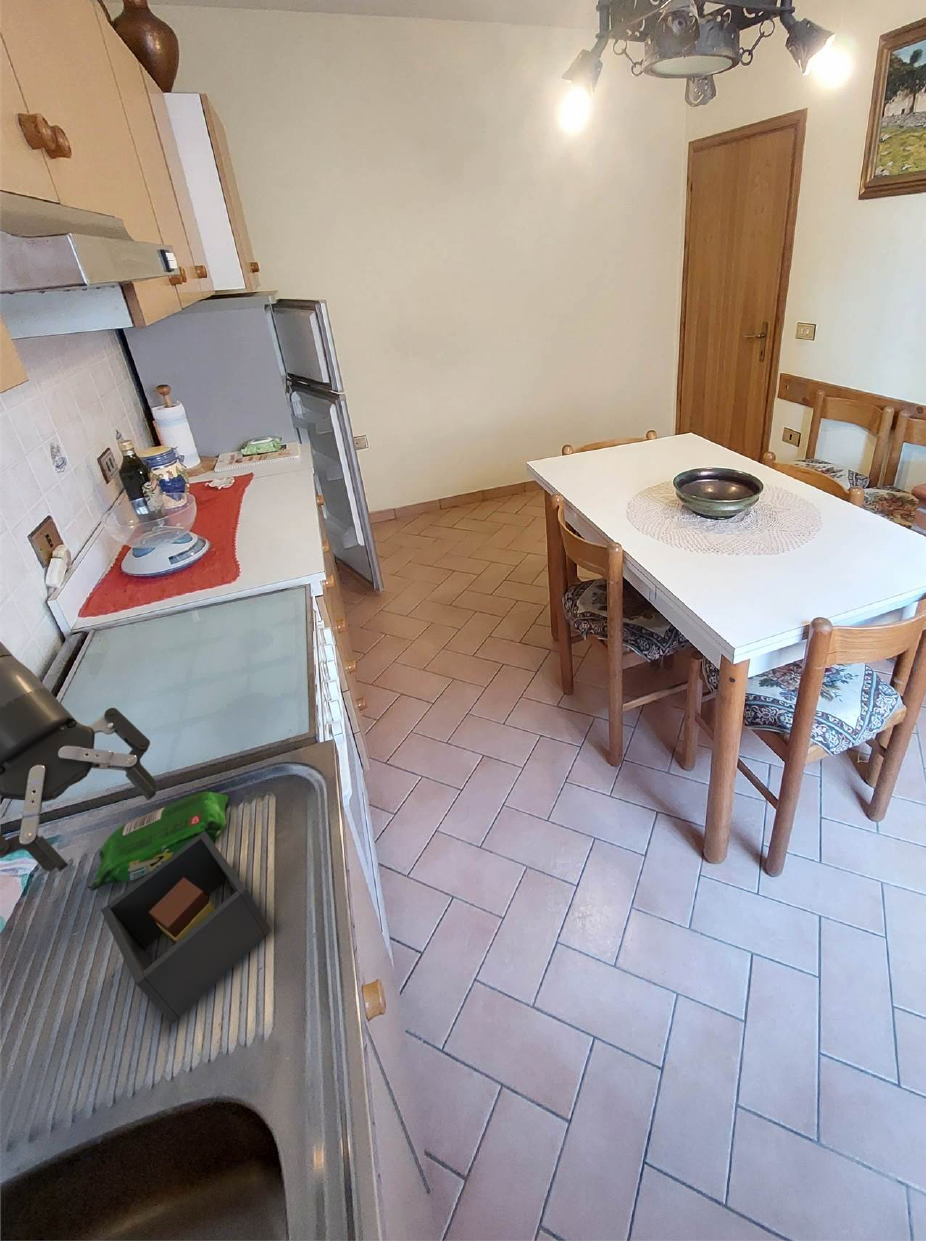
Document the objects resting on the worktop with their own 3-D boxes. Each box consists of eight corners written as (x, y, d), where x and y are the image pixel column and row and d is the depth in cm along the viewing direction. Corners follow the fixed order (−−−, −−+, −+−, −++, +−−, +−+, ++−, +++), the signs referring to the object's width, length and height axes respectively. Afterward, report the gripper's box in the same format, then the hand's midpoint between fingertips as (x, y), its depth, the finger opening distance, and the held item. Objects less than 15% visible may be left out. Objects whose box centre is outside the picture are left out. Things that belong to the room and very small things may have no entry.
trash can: (176, 1029, 60) (136, 984, 55) (139, 956, 66) (100, 909, 61) (275, 936, 67) (246, 888, 62) (233, 877, 73) (204, 830, 69)
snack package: (106, 857, 77) (87, 834, 75) (232, 799, 83) (219, 776, 81) (99, 906, 72) (79, 883, 69) (235, 841, 78) (221, 817, 75)
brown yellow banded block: (198, 969, 64) (167, 928, 60) (178, 952, 65) (147, 912, 61) (230, 932, 67) (203, 891, 63) (211, 917, 68) (183, 876, 64)
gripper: (-95, 758, 51) (28, 894, 51) (81, 656, 62) (182, 769, 62) (-80, 774, 56) (32, 898, 56) (80, 677, 67) (174, 782, 67)
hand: (110, 830), depth 59 cm, fingers open, 8 cm apart
